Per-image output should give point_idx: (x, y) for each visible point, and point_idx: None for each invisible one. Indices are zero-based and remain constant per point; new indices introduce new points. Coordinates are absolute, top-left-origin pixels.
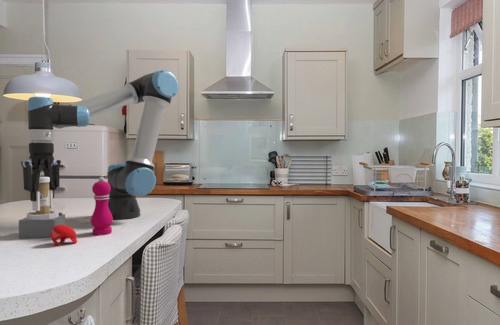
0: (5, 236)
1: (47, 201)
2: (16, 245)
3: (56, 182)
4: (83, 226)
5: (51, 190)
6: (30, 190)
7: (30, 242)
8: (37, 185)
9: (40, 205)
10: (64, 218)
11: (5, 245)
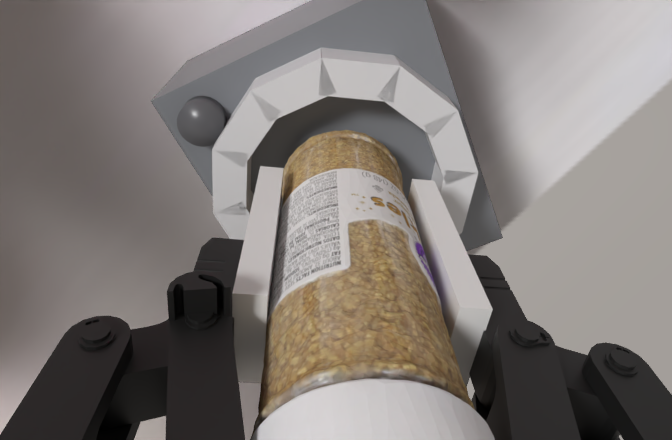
0: None
1: (352, 192)
2: (640, 32)
3: (105, 390)
4: (7, 34)
5: (256, 290)
6: (583, 356)
7: (558, 7)
8: (516, 391)
9: (409, 206)
10: (176, 82)
11: (639, 102)
